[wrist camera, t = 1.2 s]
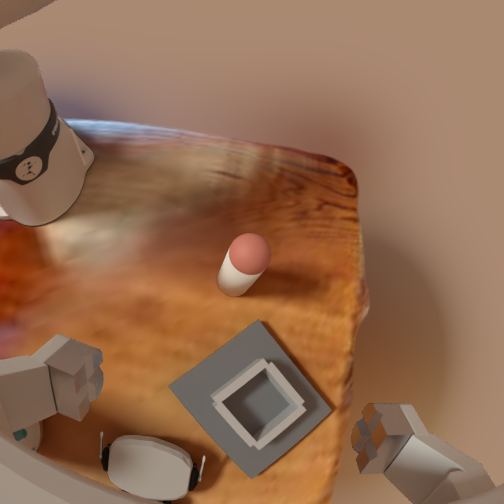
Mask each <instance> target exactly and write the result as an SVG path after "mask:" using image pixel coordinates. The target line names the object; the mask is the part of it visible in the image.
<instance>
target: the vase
mask: <svg viewBox="0 0 504 504" xmlns="http://www.w3.org/2000/svg"><path fill="white" fill-rule="evenodd" d="M43 432H44V427H43V420H41V421H39V422H37V423H34V424H32V425H30V426H27V427H25V428H23V429H20V430H18V431H16V432H13V436H14V438H15V440H16V441H18V442H20V443H21V444H23V445H25V446H26V447H28V448H30V449H31V450H33V451H35V452H36V450H37V449H38V448H39V446H40V444H41V442H42V438H43Z"/></svg>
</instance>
